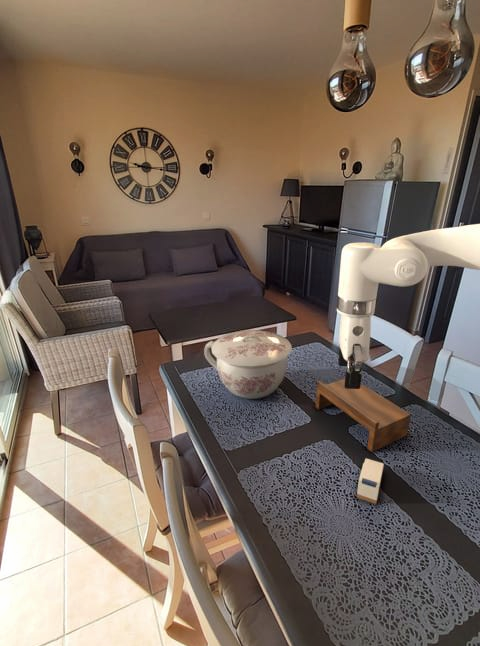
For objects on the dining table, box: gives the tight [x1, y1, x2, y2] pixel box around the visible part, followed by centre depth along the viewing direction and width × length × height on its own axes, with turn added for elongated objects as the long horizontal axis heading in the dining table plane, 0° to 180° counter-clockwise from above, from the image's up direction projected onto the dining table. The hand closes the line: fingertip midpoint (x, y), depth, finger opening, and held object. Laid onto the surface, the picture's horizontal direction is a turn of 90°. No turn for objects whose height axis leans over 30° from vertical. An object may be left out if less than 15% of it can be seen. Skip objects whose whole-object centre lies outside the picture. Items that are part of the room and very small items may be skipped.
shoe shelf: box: [315, 377, 412, 453], centre depth 109 cm, size 14×24×10 cm, turn 28°
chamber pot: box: [203, 329, 293, 400], centre depth 126 cm, size 28×28×21 cm
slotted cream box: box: [356, 457, 385, 505], centre depth 87 cm, size 10×4×6 cm, turn 153°
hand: (348, 376), depth 81 cm, fingers open, 9 cm apart
